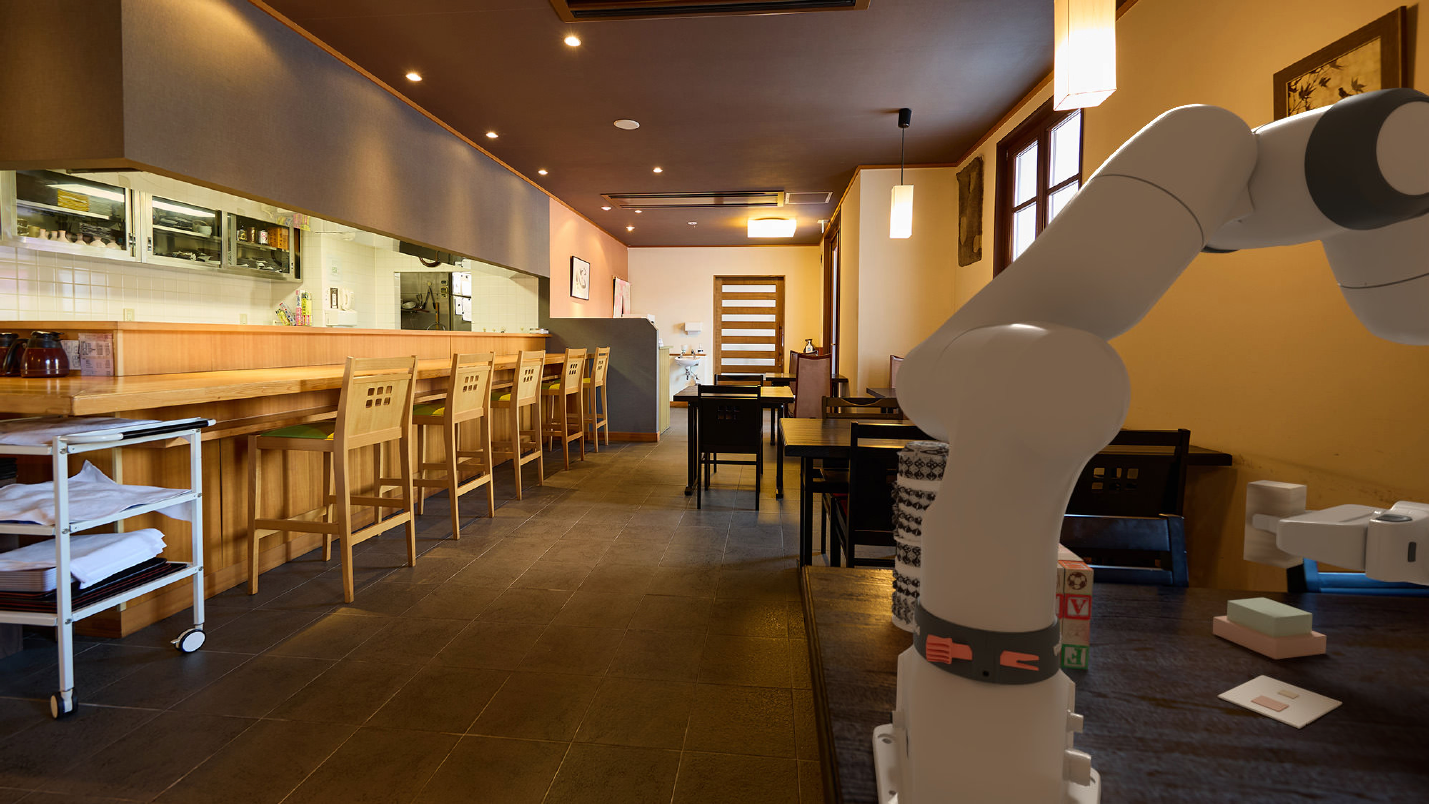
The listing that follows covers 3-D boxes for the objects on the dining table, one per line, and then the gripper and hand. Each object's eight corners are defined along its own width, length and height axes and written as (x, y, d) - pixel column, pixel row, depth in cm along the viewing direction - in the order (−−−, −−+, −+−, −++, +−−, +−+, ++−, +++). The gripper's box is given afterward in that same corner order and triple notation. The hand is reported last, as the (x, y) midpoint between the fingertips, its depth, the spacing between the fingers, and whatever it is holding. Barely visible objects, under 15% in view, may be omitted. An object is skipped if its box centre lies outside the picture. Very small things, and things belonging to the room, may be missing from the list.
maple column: (1302, 563, 84) (1306, 485, 84) (1286, 568, 82) (1290, 488, 82) (1260, 554, 88) (1263, 480, 88) (1243, 559, 86) (1247, 482, 86)
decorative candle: (875, 615, 94) (879, 440, 93) (929, 607, 98) (934, 438, 96) (914, 640, 86) (919, 448, 84) (973, 631, 89) (978, 445, 88)
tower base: (1325, 655, 83) (1327, 616, 83) (1275, 661, 81) (1277, 621, 81) (1259, 630, 91) (1261, 594, 90) (1212, 635, 89) (1214, 598, 89)
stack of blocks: (990, 603, 100) (993, 522, 99) (1034, 606, 99) (1037, 524, 98) (1033, 667, 79) (1036, 565, 78) (1090, 671, 78) (1094, 568, 77)
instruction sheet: (1299, 728, 65) (1299, 725, 65) (1218, 697, 72) (1218, 694, 72) (1341, 704, 70) (1342, 701, 70) (1262, 676, 76) (1262, 674, 76)
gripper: (1450, 505, 78) (1303, 486, 91) (1383, 524, 69) (1228, 500, 81) (1447, 557, 79) (1301, 531, 91) (1379, 584, 69) (1225, 551, 81)
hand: (1266, 517), depth 86 cm, fingers closed on maple column, 4 cm apart
